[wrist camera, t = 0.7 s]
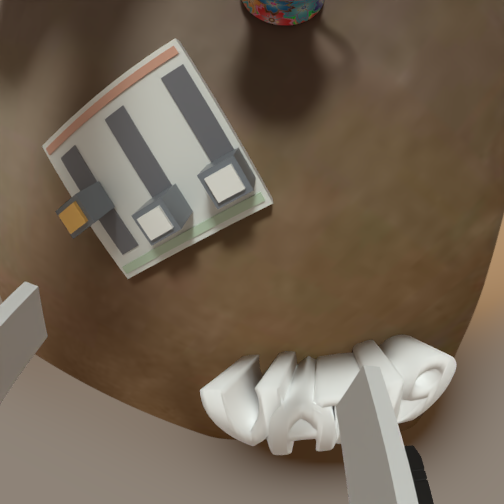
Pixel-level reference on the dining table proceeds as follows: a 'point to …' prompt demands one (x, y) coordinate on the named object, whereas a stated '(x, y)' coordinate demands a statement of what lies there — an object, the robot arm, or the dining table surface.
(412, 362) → the wavy white extrusion
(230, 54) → the dining table surface
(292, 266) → the dining table surface
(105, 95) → the panel
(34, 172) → the dining table surface
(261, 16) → the mug
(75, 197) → the block
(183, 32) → the dining table surface
